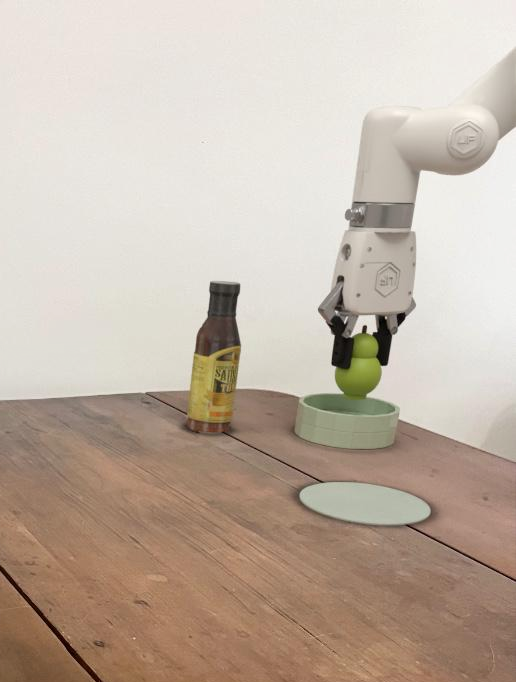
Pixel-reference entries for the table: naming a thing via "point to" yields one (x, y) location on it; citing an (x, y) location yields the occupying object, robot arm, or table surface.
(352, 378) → the pear
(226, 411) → the sauce bottle
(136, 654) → the table surface
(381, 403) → the bowl
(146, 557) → the table surface
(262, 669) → the table surface
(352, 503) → the mat
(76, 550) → the table surface
